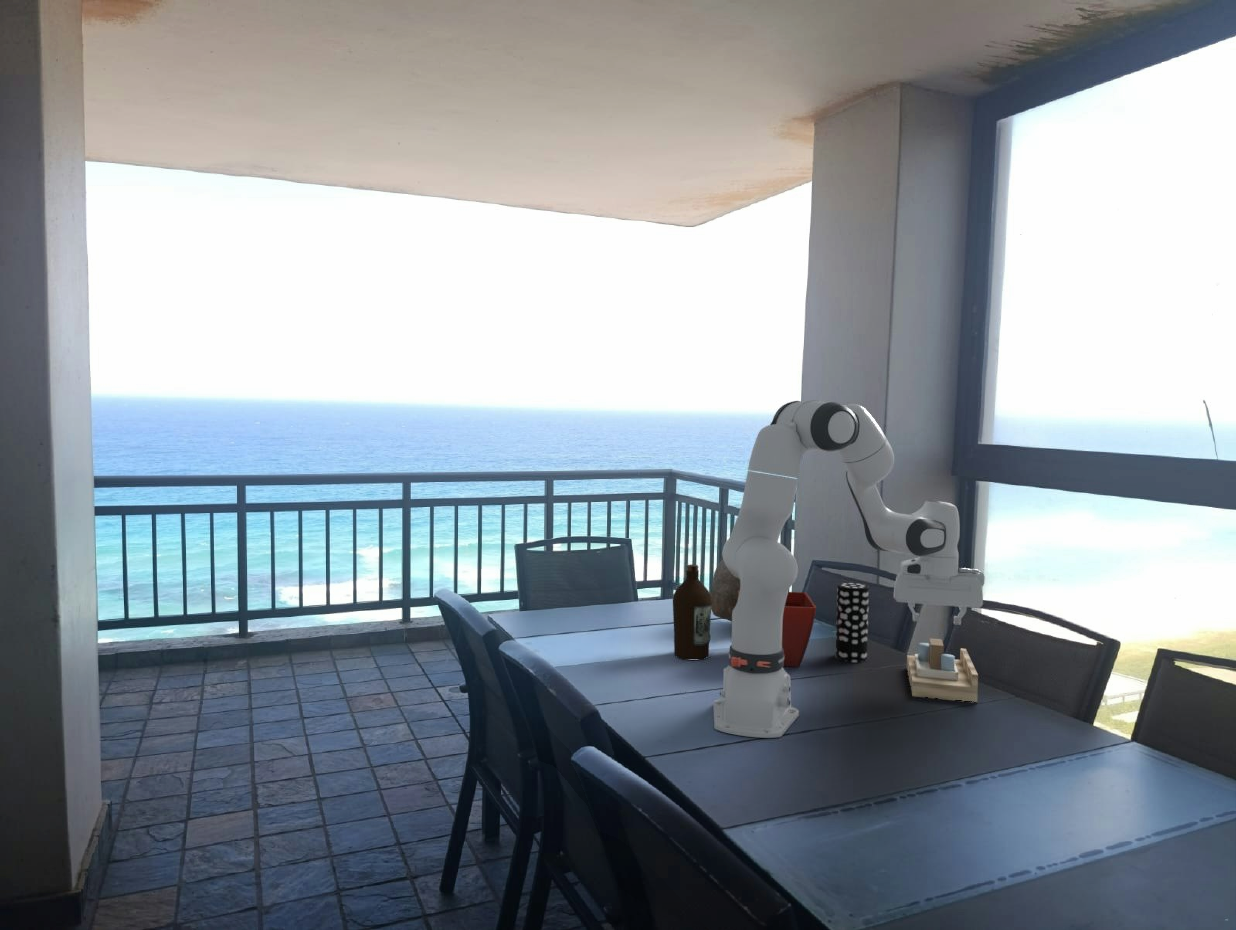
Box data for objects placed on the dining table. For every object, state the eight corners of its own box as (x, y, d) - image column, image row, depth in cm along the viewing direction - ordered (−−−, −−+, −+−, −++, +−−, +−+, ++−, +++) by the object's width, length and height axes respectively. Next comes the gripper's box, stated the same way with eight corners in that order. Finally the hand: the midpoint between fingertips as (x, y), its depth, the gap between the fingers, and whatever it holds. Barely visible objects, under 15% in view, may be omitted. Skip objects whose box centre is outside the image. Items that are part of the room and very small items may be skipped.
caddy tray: (958, 680, 185) (959, 651, 184) (917, 676, 187) (918, 647, 187) (952, 664, 197) (953, 636, 197) (914, 660, 200) (915, 633, 199)
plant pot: (805, 650, 220) (806, 591, 219) (815, 671, 201) (816, 607, 200) (736, 648, 222) (737, 589, 221) (740, 668, 203) (741, 605, 202)
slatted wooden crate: (977, 702, 179) (978, 675, 179) (912, 696, 184) (913, 668, 183) (964, 673, 200) (965, 648, 200) (906, 668, 205) (907, 643, 204)
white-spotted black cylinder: (863, 653, 217) (865, 582, 216) (870, 663, 209) (872, 589, 208) (833, 652, 218) (834, 581, 217) (838, 661, 210) (840, 588, 209)
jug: (697, 621, 251) (698, 529, 250) (757, 617, 258) (758, 526, 256) (730, 641, 228) (732, 540, 226) (795, 636, 234) (797, 537, 233)
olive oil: (664, 655, 215) (665, 565, 213) (689, 647, 222) (690, 560, 221) (693, 663, 207) (694, 570, 206) (718, 655, 214) (720, 565, 213)
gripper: (982, 567, 191) (980, 623, 192) (894, 561, 197) (892, 616, 197) (987, 571, 185) (984, 629, 186) (895, 566, 191) (893, 621, 191)
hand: (936, 622), depth 191 cm, fingers open, 8 cm apart
